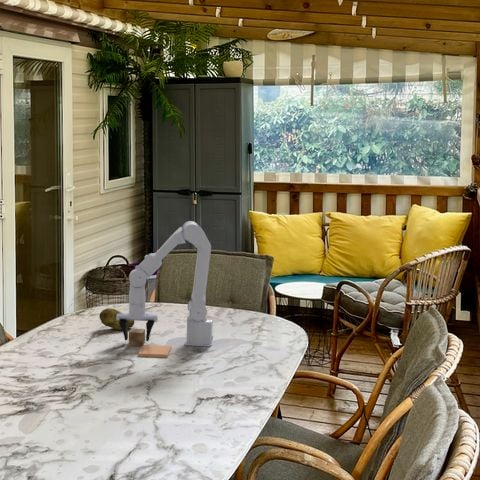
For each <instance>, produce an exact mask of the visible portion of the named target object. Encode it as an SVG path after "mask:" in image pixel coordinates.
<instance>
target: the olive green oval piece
mask: <svg viewBox="0 0 480 480" xmlns="http://www.w3.org/2000/svg"><path fill="white" fill-rule="evenodd" d="M117 314H125V313H123V312H121V311H118V310H117V309H115V308H104V309H102V310H101V312H100V313H99V315H98V316H99V320H100V321H101V323H102V324H103V325H104V326H105V327H108V328H112V329H113V330H116V331H122V328H121V326H120V325H119V321H120V320H116V315H117ZM134 325H135V320H128V329H130V328H131V329H132V327H134Z"/></svg>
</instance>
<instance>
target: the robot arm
mask: <svg viewBox="0 0 480 480" xmlns="http://www.w3.org/2000/svg"><path fill="white" fill-rule="evenodd" d="M186 241H187V242H189V243H190V244H192V245H193V246H194V247H195V248H196V249H197V251H196V261H195V268H194V269H195V270H194V277H193V278H194V279H193V285H192V293H191V294H190V295H191V297H190V300H189V301H188V303H187V311H188V313H189V314H188V316H187V317H186V339H185V342H184V346H193V347H211V346H212V343H213V339H214V335H213V329H214V328H213V323H214V321H213V319H209V318H208V317H207V315H208V309H207V307H206V303H207V302H206V300H207V299H206V298H207V297H206V296H207V295H206V292H207V287H208V286H207V285H208V277H209V269H210V261H211V254H212V253H211V252H212V244H211V242H210V241H209V239H208V237H207V235H206V233H205V231H204V230H203V228H202V227H201V226H200V225H199V223H197V222H195V221H193V220H188V221H186V222H184V223H183V225H182V226H179V227H178V228H177V230H175V231H174V232H173V234H171V235H170V236H169V238H168V239H167V240H166V241H165V242H164V243H163V244H162V245H161V247H160V248H159V249H158V250H157V251H156V252H154V253H152V252H151V253H148V254H145V256H144V259H143V260H142V261H141V262H140V263H139V264H138V265H136V266H134V269H132V270H131V271H130V273H129V275H128V281H129V289H128V294H129V295H128V297H129V298H128V313H127V312H126V313H124V314H117V315H116V320H120V321H119V325H120V326H121V328H122V330H121V331H122V333H123V337H124V341H128V340H129V328H128V320H134V321H138V322H139V321H142V322H143V321H144V322H146V323H145V326H146V327H145V328H146V329H145V331H146V333H145V342H149V340H150V335H151V332H152V329H153V328H154V324H155V323H157V322H158V319H159V315H157V314H150V313H146V289H145V286H146V283H147V279H148V278H150V277H151V276H152V275H154V274H155V272H156V271H157V270H158V269H159V268H160V267H161V266H162V264H163V261H162V260H163V259H164V258H165V257H166V256H167V255H168V254H169V253H170V252H172V250H173V249H174V248H175V247H177V245H182V244H186V243H187V242H186Z"/></svg>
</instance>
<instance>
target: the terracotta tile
mask: <svg viewBox="0 0 480 480" xmlns="http://www.w3.org/2000/svg"><path fill="white" fill-rule="evenodd" d="M171 351H172V345H154V344H144V345H143V346H141V348H140V350H139V352H138V355H137V356H138V357H147V358H168V357H169V356H170V353H171Z"/></svg>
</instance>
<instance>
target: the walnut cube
mask: <svg viewBox="0 0 480 480" xmlns="http://www.w3.org/2000/svg"><path fill="white" fill-rule="evenodd" d="M145 343H146V329H145V328H131V329H130V330H128V346H129V347H142V346H143V345H145Z"/></svg>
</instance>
